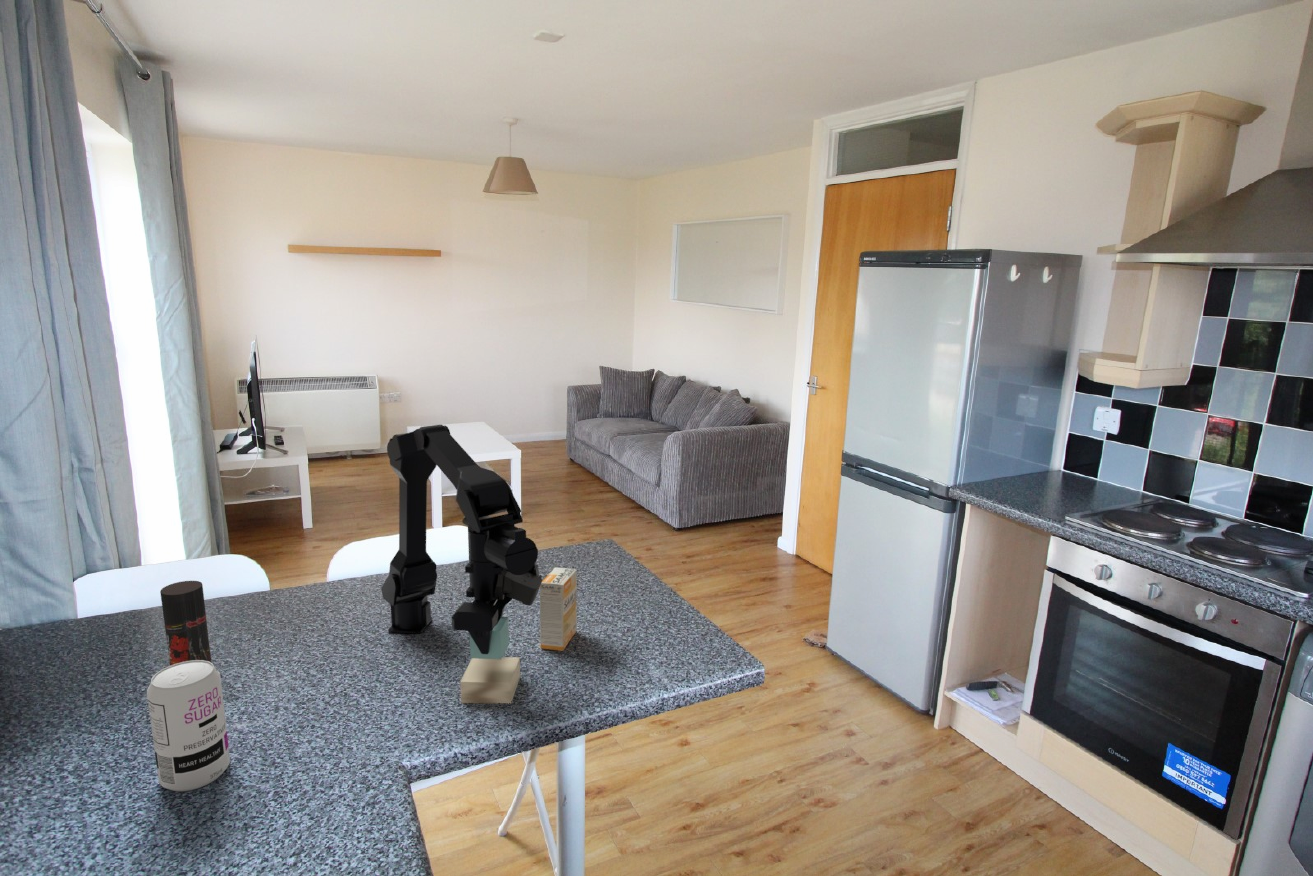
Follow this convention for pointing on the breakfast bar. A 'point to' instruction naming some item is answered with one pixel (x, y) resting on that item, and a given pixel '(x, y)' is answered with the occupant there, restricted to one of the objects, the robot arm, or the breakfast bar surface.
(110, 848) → the breakfast bar surface
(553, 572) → the supplement box
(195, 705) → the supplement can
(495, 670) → the beech block
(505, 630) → the teal cube
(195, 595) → the deodorant
